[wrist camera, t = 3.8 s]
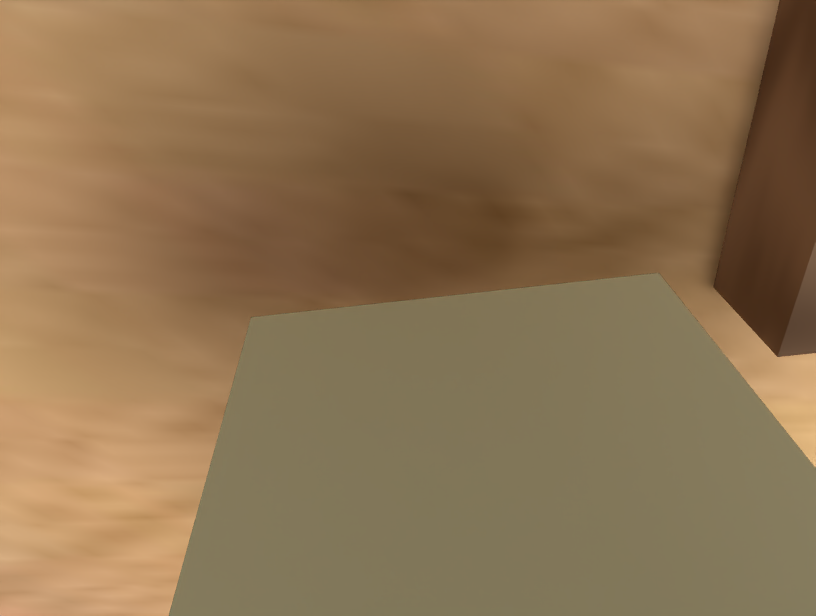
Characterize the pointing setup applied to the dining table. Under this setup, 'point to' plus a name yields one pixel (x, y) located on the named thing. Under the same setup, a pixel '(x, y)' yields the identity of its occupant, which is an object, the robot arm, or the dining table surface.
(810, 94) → the walnut box
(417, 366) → the sage cube
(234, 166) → the dining table surface
